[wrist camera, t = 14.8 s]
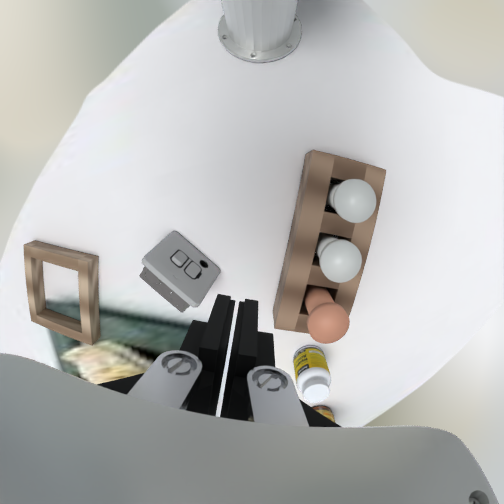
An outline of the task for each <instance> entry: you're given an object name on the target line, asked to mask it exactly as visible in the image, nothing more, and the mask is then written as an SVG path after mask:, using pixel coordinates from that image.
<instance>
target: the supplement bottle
mask: <svg viewBox="0 0 504 504" xmlns="http://www.w3.org/2000/svg"><path fill="white" fill-rule="evenodd" d="M293 362H294V369H295V377H296V384H297V387H298V389H299V391H300V392H302V393H303V398H304V399H305V400H306V401H307V402H310V403H319V402H321V401H323V400H325V399H326V398H327V397H328V396H329V393H330V389H329V385H330V383H331V376H330V372H329V369H328V366H327V362H326V359H325V356H324V353H323V351H322V350H321V349H320V348H318V347H316V346H305V347H302V348H301V349H299V350H298V351H297V352H296V353H295V355H294V359H293Z"/></svg>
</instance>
